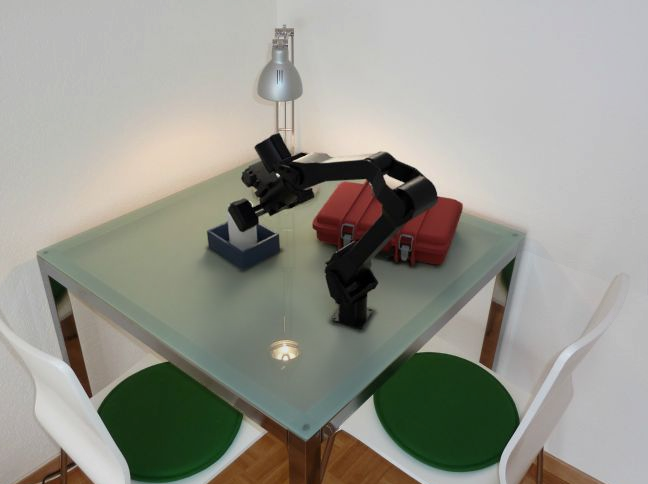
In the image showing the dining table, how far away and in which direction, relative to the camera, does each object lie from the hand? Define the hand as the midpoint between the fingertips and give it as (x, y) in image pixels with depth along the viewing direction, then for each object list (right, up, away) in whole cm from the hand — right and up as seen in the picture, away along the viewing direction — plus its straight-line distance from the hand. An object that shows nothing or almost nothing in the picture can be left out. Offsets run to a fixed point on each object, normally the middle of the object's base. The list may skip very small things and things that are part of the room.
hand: (253, 216), depth 142 cm
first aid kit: (+32, -4, +13) cm, 35 cm away
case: (-3, -8, +9) cm, 12 cm away
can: (-3, -8, +9) cm, 12 cm away
